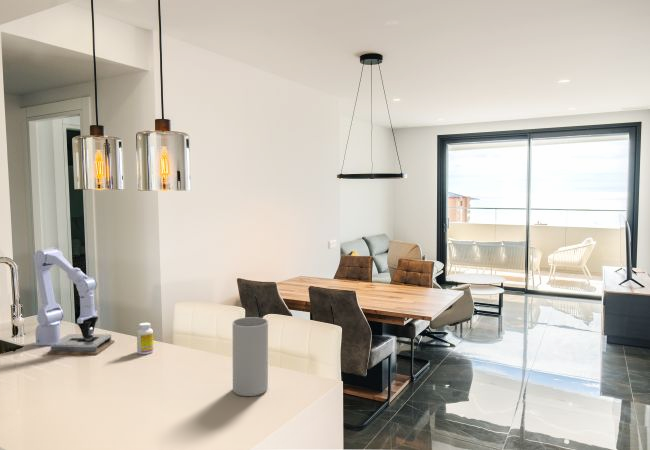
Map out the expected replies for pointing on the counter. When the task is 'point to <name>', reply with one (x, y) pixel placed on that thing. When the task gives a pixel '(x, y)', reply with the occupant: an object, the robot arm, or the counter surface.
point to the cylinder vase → (250, 356)
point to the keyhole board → (100, 349)
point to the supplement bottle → (144, 339)
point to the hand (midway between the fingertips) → (88, 334)
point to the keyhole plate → (79, 343)
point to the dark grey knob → (89, 338)
